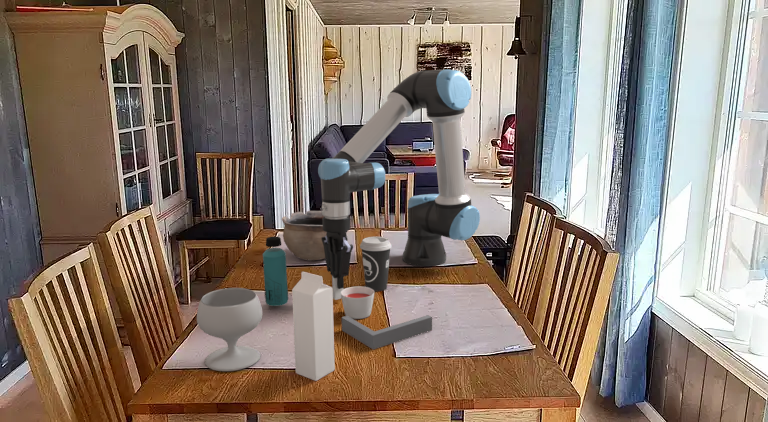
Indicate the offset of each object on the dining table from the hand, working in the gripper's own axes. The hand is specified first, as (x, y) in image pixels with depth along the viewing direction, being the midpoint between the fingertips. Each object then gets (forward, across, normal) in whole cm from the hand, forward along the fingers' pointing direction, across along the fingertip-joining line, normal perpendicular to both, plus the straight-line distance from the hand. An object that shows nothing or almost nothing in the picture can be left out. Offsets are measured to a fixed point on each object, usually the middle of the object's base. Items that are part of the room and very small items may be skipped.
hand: (338, 298), depth 163 cm
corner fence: (+2, +23, 0) cm, 23 cm away
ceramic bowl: (+2, -43, +17) cm, 46 cm away
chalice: (+2, +15, -37) cm, 40 cm away
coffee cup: (+2, -4, +16) cm, 17 cm away
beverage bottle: (+2, -8, -15) cm, 17 cm away
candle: (+2, +10, 0) cm, 10 cm away
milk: (+2, +31, -25) cm, 40 cm away
